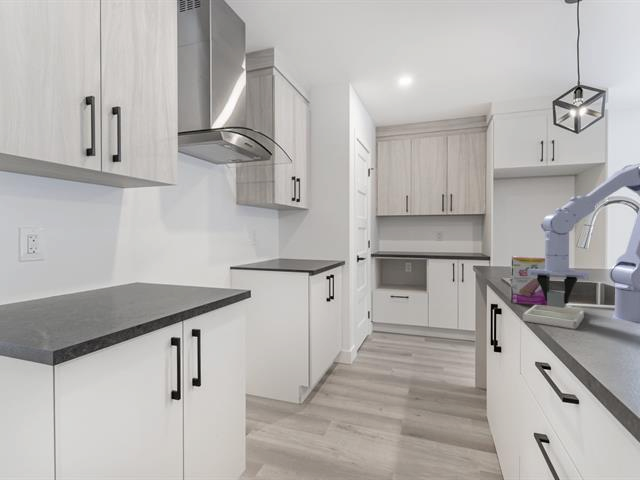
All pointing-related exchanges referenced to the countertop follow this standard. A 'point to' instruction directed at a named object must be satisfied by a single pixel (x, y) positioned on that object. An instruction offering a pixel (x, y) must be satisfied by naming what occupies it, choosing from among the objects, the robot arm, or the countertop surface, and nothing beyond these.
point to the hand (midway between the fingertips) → (556, 301)
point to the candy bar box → (526, 281)
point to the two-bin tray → (554, 316)
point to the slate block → (556, 298)
